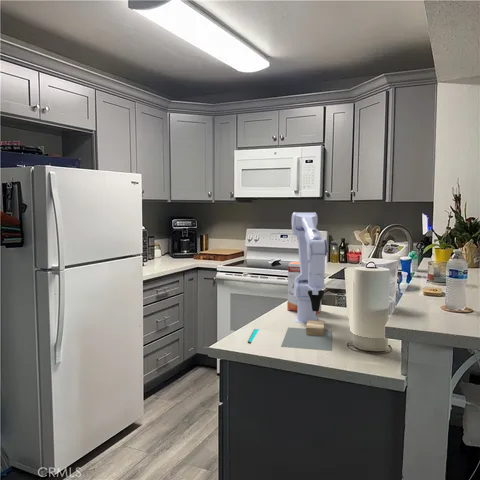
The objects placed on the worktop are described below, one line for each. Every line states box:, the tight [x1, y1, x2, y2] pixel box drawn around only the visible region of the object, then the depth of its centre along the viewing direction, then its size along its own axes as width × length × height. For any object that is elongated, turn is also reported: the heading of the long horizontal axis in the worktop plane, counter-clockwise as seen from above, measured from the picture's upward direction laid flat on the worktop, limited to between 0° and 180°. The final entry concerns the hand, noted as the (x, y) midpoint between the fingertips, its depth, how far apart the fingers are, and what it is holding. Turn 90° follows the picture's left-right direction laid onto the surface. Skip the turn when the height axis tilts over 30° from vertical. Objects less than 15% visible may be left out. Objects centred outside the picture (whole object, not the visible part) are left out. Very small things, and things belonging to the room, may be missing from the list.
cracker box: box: [286, 261, 323, 314], centre depth 181 cm, size 14×6×21 cm, turn 68°
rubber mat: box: [280, 327, 333, 352], centre depth 142 cm, size 22×16×1 cm
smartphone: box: [247, 328, 260, 344], centre depth 144 cm, size 7×1×15 cm
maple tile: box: [305, 320, 325, 336], centre depth 150 cm, size 2×6×10 cm
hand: (315, 310), depth 148 cm, fingers closed
